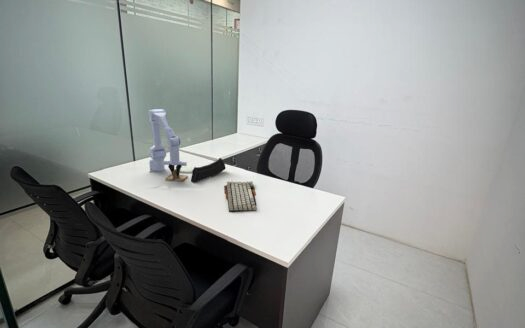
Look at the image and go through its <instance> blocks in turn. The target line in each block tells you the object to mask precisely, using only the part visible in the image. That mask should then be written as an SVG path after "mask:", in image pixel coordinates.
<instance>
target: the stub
mask: <svg viewBox="0 0 525 328" xmlns="http://www.w3.org/2000/svg"><path fill="white" fill-rule="evenodd" d="M188 177H189V176H188V175H185V174H179V176H177V170H176V168H174V171H173V176H172V173H171V174H169V175H167V176H166V177H165V179H164V180H165V181H171V182H172V181H173V182H185V181H186V180H187V179H188Z"/></svg>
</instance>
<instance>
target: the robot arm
mask: <svg viewBox="0 0 525 328" xmlns="http://www.w3.org/2000/svg"><path fill="white" fill-rule="evenodd" d="M147 116H148V121H149V123H150V125H151V132H152V140H153V141H152V142H153V146H151V147H149V156H150V159H149V163H148V164H149V172H150V173H153V172H163V171H165V170H166V168H165V166H166V165H168V166H167V167H168V169H169V170H170V172H171V174H172V176H173V171H174V170H175V169H176V170H177V176H179V175H180V174H181V173H180V169H181V167H187V164H188V163H187V162H186V161H185V162H184V161H180V146H181V139H180V137H179V136H178V135H176V134H175V131H174V130H173V128H172V127H170V126H169V123H168V121H167V112H166V110H165V109H163V108H161V109H149V110H148V112H147ZM160 125H161V127H162V129H163V134H164V136H165V138H166V144H167V147H168V150H169V160H165V159H166V157H167V151H166V147H165V146H164V145H162V141H161V140H162V138H161V130H160V129H161V128H160Z"/></svg>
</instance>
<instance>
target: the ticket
mask: <svg viewBox="0 0 525 328" xmlns="http://www.w3.org/2000/svg"><path fill="white" fill-rule="evenodd" d="M193 169H194V167H189V166H182V167H181V169H180V173H179V174H192V172H193Z"/></svg>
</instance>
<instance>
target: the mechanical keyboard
mask: <svg viewBox="0 0 525 328" xmlns="http://www.w3.org/2000/svg"><path fill="white" fill-rule="evenodd" d="M223 190H224V195H225V200H226V201H227V204H228V206H227V207H228V213H245V212H254V211H257V201H256V196H257V192H256V190H255V186H254V182H253V181H252V180H251V181H227V182H226V185H224V186H223Z"/></svg>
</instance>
